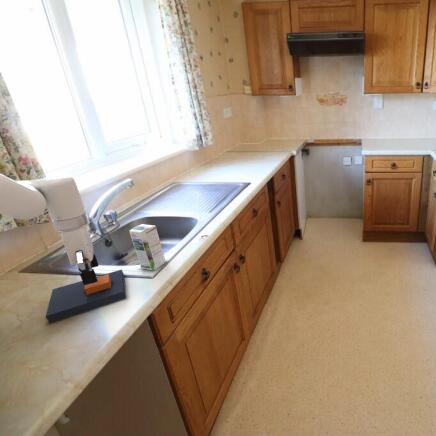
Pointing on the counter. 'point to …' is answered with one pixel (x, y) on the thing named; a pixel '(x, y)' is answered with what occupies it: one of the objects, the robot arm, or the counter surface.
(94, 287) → the top pad
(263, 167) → the counter surface
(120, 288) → the base pad
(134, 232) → the syrup box
